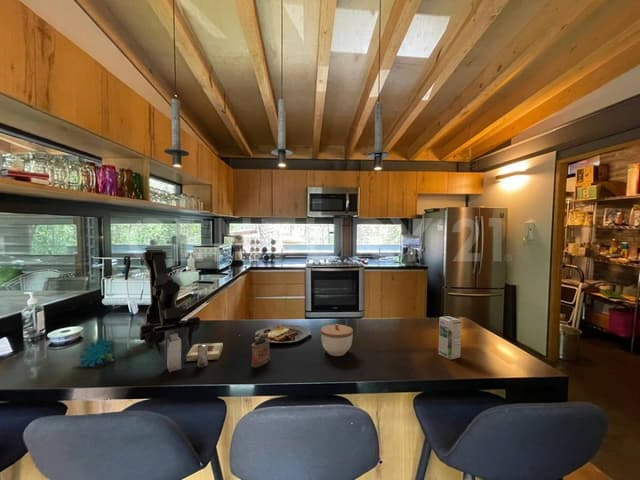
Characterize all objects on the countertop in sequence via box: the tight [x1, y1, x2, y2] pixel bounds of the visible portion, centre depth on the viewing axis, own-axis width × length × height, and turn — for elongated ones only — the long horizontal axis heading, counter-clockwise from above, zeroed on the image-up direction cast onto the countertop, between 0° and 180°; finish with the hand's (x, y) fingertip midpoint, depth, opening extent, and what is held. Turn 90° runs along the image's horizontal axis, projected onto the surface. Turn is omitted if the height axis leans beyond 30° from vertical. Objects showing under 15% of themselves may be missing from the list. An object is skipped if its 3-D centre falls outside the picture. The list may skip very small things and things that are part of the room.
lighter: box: [251, 333, 271, 368], centre depth 104 cm, size 8×3×10 cm, turn 148°
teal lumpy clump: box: [79, 338, 115, 368], centre depth 104 cm, size 11×6×10 cm
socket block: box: [185, 342, 224, 362], centre depth 112 cm, size 11×11×2 cm
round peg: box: [197, 343, 209, 368], centre depth 102 cm, size 3×3×7 cm
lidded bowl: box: [320, 323, 354, 357], centre depth 114 cm, size 13×13×11 cm
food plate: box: [254, 324, 312, 344], centre depth 132 cm, size 25×23×4 cm
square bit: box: [166, 331, 182, 373], centre depth 99 cm, size 4×4×12 cm
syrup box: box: [438, 315, 462, 360], centre depth 112 cm, size 6×6×14 cm
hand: (174, 350), depth 98 cm, fingers open, 9 cm apart
